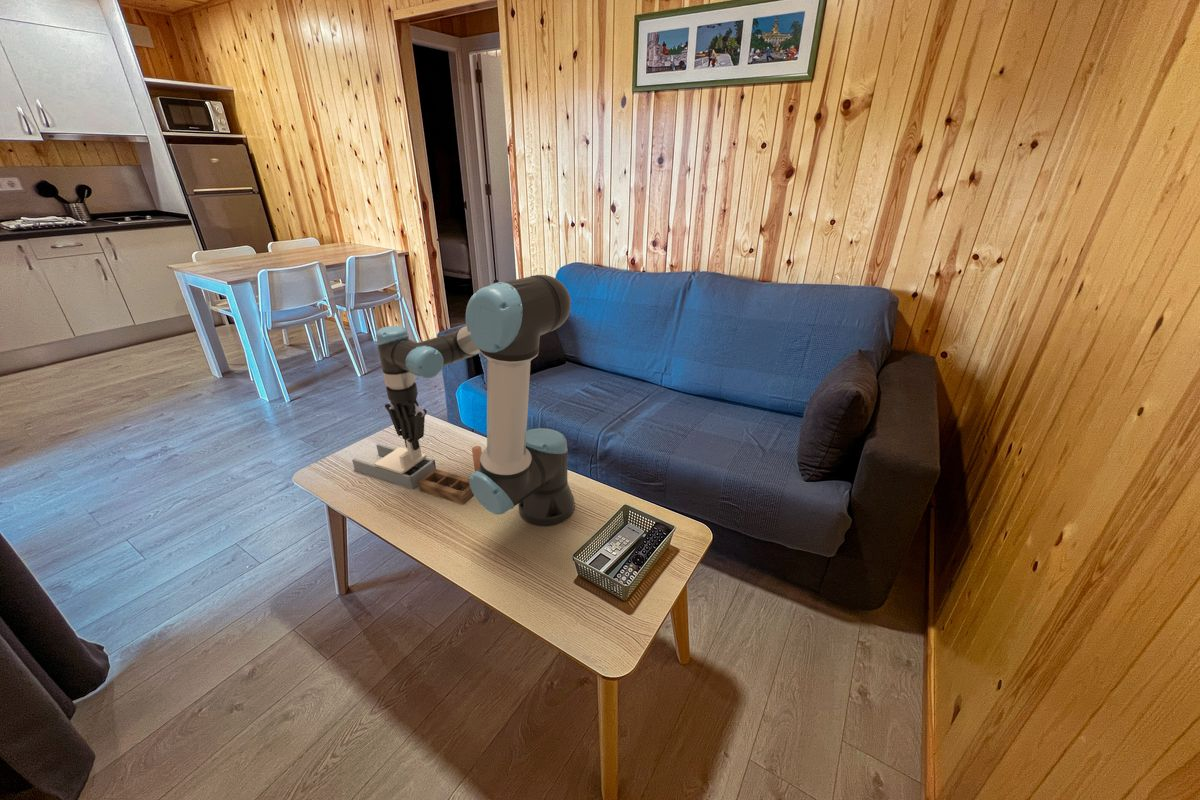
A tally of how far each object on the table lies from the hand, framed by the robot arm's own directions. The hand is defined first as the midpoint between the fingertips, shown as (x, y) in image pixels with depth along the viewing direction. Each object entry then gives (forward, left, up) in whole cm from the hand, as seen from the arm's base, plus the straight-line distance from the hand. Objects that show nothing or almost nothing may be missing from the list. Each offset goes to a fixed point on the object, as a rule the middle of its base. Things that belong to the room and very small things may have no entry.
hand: (414, 457), depth 134 cm
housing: (+9, 0, -7) cm, 11 cm away
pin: (-16, -8, -7) cm, 19 cm away
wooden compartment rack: (-12, +1, -7) cm, 14 cm away
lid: (+6, 0, -3) cm, 6 cm away
